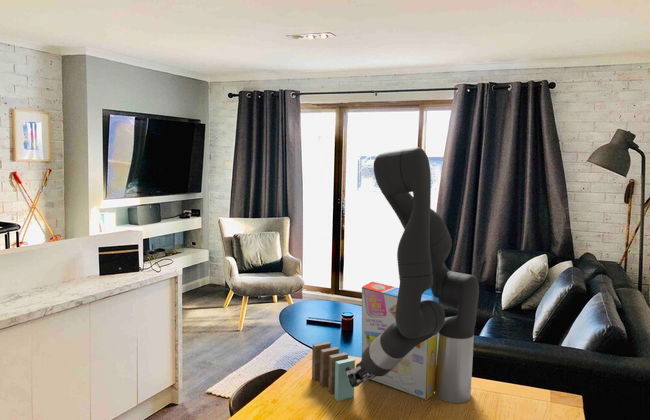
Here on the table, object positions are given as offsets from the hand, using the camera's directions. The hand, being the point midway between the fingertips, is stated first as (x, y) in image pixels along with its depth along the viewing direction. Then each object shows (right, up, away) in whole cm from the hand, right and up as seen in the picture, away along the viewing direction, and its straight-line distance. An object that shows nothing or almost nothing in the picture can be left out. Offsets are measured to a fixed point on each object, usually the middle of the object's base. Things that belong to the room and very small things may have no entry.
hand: (352, 383), depth 133 cm
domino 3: (-4, -4, +8) cm, 9 cm away
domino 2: (-6, -4, +11) cm, 13 cm away
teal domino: (-2, -5, +4) cm, 7 cm away
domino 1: (-8, -3, +15) cm, 18 cm away
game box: (+13, -4, +11) cm, 18 cm away
